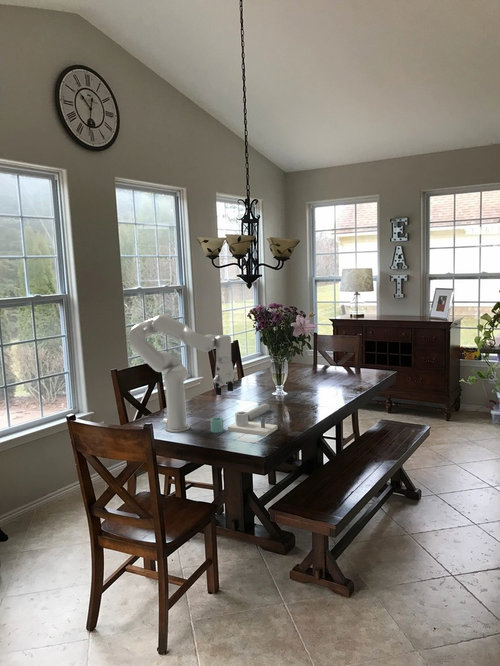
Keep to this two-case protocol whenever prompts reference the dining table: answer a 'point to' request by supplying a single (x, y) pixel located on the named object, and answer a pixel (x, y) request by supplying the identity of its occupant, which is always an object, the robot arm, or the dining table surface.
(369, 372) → the dining table surface
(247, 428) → the pin board
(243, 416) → the sleeve grey
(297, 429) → the dining table surface
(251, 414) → the tube
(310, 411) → the dining table surface
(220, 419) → the sleeve teal
